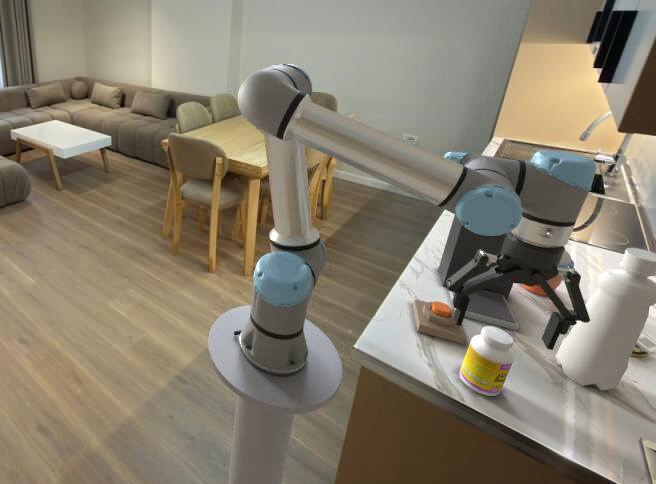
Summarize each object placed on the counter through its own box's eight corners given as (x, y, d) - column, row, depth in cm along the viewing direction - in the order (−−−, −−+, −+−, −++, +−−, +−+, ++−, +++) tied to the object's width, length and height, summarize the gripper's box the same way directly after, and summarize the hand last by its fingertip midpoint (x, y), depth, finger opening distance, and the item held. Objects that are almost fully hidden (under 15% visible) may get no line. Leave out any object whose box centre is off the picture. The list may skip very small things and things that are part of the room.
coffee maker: (451, 313, 100) (481, 224, 91) (437, 270, 117) (461, 191, 108) (522, 331, 94) (562, 238, 85) (497, 283, 111) (528, 201, 102)
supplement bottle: (490, 403, 77) (511, 353, 72) (452, 378, 82) (469, 330, 78) (505, 388, 80) (526, 339, 76) (467, 364, 86) (485, 317, 81)
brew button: (432, 314, 95) (434, 308, 94) (430, 305, 98) (431, 299, 97) (450, 319, 93) (452, 313, 93) (447, 309, 96) (449, 304, 96)
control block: (417, 331, 94) (421, 318, 93) (412, 305, 103) (416, 293, 101) (463, 344, 91) (468, 331, 89) (454, 316, 99) (458, 303, 98)
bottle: (544, 352, 88) (597, 237, 78) (600, 366, 85) (662, 247, 74) (564, 384, 81) (625, 262, 70) (626, 401, 77) (700, 274, 67)
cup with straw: (530, 276, 114) (552, 221, 107) (568, 296, 105) (595, 238, 99) (506, 281, 112) (527, 226, 105) (544, 302, 103) (570, 244, 97)
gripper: (453, 232, 71) (426, 324, 79) (651, 267, 61) (599, 370, 68) (445, 214, 78) (421, 301, 85) (624, 243, 67) (578, 340, 74)
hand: (500, 332), depth 76 cm, fingers open, 13 cm apart
